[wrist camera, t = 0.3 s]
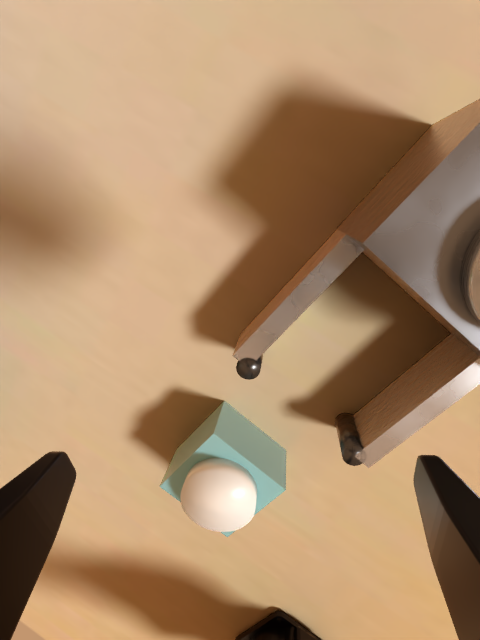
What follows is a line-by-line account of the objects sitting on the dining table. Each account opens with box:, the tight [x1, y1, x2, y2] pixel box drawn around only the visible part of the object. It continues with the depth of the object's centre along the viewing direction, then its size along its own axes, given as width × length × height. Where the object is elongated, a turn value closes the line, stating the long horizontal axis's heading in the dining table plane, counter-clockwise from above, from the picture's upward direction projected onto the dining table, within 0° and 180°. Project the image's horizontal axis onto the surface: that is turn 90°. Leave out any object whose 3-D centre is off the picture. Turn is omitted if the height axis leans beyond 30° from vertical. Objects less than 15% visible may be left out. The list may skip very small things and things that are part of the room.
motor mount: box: [233, 99, 480, 468], centre depth 18 cm, size 17×11×9 cm, turn 140°
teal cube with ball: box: [160, 401, 286, 537], centre depth 25 cm, size 6×6×5 cm
